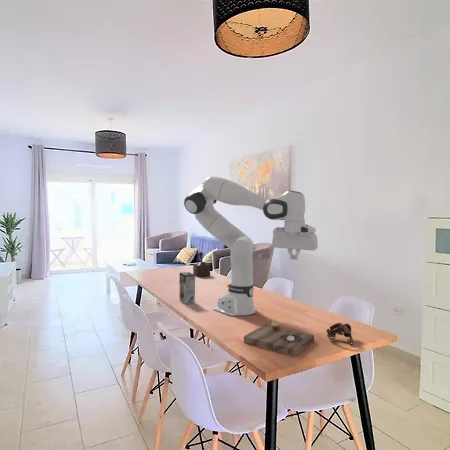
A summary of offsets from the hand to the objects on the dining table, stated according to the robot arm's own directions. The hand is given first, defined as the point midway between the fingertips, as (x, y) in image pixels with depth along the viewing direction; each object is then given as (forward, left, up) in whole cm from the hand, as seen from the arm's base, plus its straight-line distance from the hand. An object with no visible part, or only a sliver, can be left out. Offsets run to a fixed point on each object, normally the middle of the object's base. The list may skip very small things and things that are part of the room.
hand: (293, 259), depth 149 cm
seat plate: (+2, -17, -31) cm, 35 cm away
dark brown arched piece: (+21, 0, -31) cm, 38 cm away
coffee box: (-67, +5, -31) cm, 74 cm away
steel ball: (+7, -17, -29) cm, 35 cm away
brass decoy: (-3, -11, -27) cm, 29 cm away
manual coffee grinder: (-111, +70, -31) cm, 135 cm away
